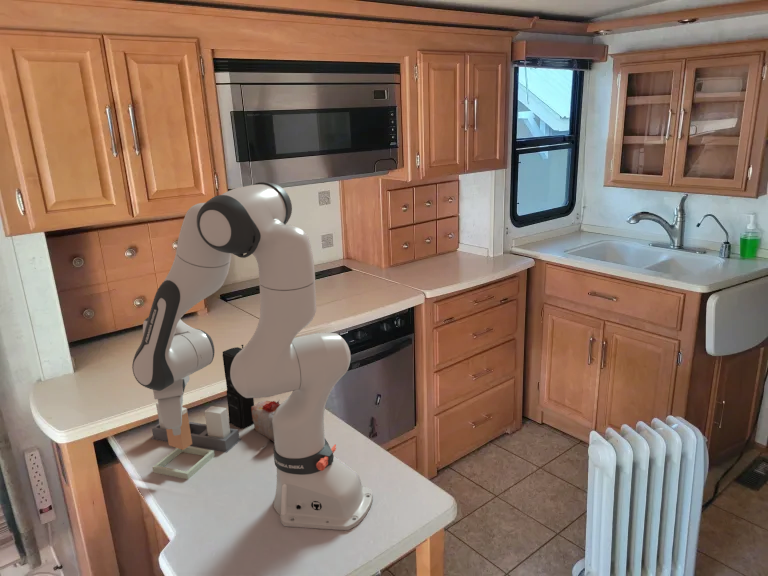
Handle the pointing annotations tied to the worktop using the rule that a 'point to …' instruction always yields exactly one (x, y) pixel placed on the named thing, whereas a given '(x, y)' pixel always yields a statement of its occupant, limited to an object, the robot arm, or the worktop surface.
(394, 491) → the worktop surface
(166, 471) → the tray
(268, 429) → the food item
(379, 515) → the worktop surface
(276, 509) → the robot arm
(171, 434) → the block
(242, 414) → the portable radio
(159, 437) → the fuse block
